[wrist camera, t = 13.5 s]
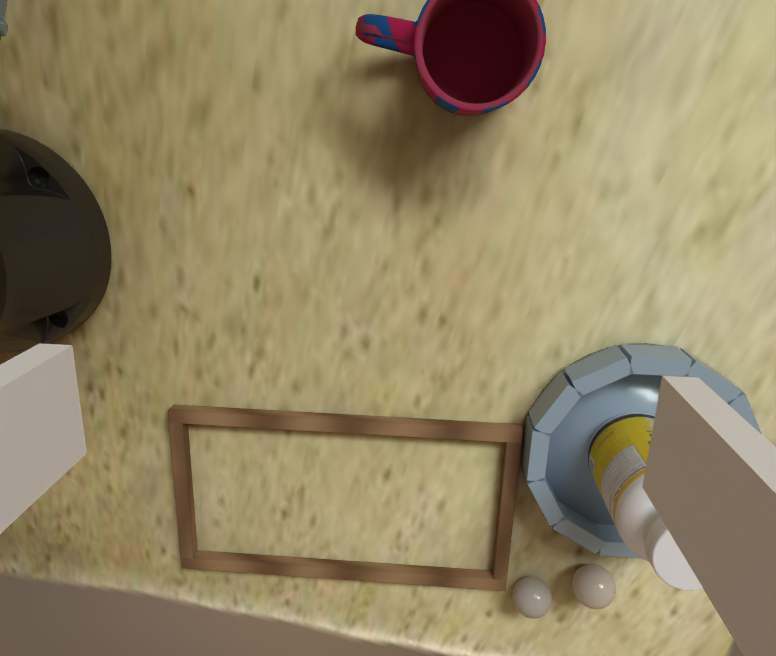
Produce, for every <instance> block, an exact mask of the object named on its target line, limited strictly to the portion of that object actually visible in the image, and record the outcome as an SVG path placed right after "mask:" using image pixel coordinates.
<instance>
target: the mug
mask: <svg viewBox="0 0 776 656" xmlns="http://www.w3.org/2000/svg"><path fill="white" fill-rule="evenodd" d="M356 36H357V37H358V38H359V39H360V40H361V41H363V42H365V43H367V44H370V45H373V46H377V47H381V48H385V49H389V50H393V51H397V52H400V53H404V54H408V55H412V56H414V57H415V61H416V66H417V71H418V75H419V79H420V81H421V84H422V86H423V88H424V90H425V91H426V93H427V94H428V96H429V97H430V98H431V99H432V100H433V101H434V102H435V103H436V104H437V105H439V106H440V107H441V108H443V109H445V110H447V111H449V112H451V113H455V114H458V115H466V116H471V115H479V114H483V113H486V112H489V111H492V110H495V109H498V108H500V107H502V106H504V105H506V104H508V103H510V102H511V101H513V100H514V99H516V98H517V97H518V96H520V95H521V94H522V93H523V92H524V91H525V90H526V89H527V87H528V86H529V85H530V83H531V82H532V81H533V79H534V78H535V76H536V74H537V72H538V70H539V68H540V66H541V62H542V59H543V56H544V51H545V45H546V28H545V22H544V17H543V14H542V11H541V9H540V6H539V4H538V2H537V0H427V2H426V3H425V5H424V6H423V8H422V11H421V13H420V15H419V18H418V20H417V21H416V22H413V21H408V20H404V19H399V18H393V17H388V16H382V15H373V14H366V15H363V16H361V17H359V18H358V21H357V25H356Z"/></svg>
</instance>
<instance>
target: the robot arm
mask: <svg viewBox="0 0 776 656" xmlns="http://www.w3.org/2000/svg"><path fill="white" fill-rule="evenodd" d="M7 1H8V0H0V40H1V36H5V37H6V34H7V30H8V25H7V23H6V21H5V13H6V7H7ZM110 269H111V245H110V238H109V233H108V229H107V225H106V222H105V219H104V216H103V214H102V211H101V209H100V207H99V204H98V203H97V201H96V199H95V197H94V195H93V194H92V192H91V190H90V189H89V187H88V186H87V184H86V183H85V182H84V180H83V179H82V178H81V177H80V175H79V174H78V173H77V172H76V171H75V170H74V169H73V168H72V167H71V166H70V165H69V164H68V163H67V162H66V161H65V160H64V159H63V158H61V157H60V156H59V155H58V154H56V153H55V152H54V151H52V150H51V149H49V148H48V147H46V146H45V145H43V144H41V143H39V142H38V141H36V140H34V139H31V138H29V137H27V136H24V135H22V134H19V133H16V132H12V131H8V130H4V129H0V353H1V352H17V351H25V350H27V351H25V352H23V353H21V354H19V355H17V356H15V357H14V358H12V359H10V360H8V361H6V362H4V363H2V364H1V365H0V534H1V533H2V532H3V531H4V530H5V529H6V528H7V527H8V526H9V525H10V524H11V523H12V522H14V521H15V520H16V519H17V518H18V517H19V516H20V515H21V514H22V513H23V512H24V511H25V510H26V509H27V508H29V507H30V506H31V505H32V504H33V503H34V502H35V501H36V500H37V499H38V498H39V497H40V496H41V495H42V494H44V493H45V492H46V491H47V490H48V489H49V488H50V487H51V486H52V485H53V484H54V483H55V482H56V481H58V480H59V479H60V478H61V477H62V476H63V475H64V474H65V473H66V472H67V471H68V470H69V469H70V468H71V467H73V466H74V465H75V464H76V463H77V462H78V461H79V460H80V459H81V458H82V457H83V456H84V455H85V454H86V453H87V452H86V444H85V437H84V429H83V422H82V414H81V407H80V399H79V392H78V384H77V377H76V370H75V362H74V355H73V347H72V345H59V344H48V343H50V342H52V341H54V340H56V339H58V338H60V337H62V336H64V335H65V334H67V333H69V332H71V331H72V330H74V329H76V328H77V327H78V326H80V325H81V324H82V323H83V322H84V321H86V320H87V319H88V318H89V316H90V315H91V314H92V313H93V312H94V310H95V309H96V308H97V306H98V304H99V303H100V301H101V299H102V297H103V295H104V292H105V290H106V287H107V284H108V280H109V275H110ZM642 488H643V489H644V491H645V493H646V494H647V496H648V498H649V499H650V501H651V503H652V504H653V506H654V508H655V509H656V511H657V513H658V514H659V516H660V518H661V519H662V521H663V522H664V524H665V526H666V527H667V529H668V531H669V532H670V534H671V536H672V537H673V539H674V541H675V542H676V544H677V546H678V547H679V549H680V551H681V552H682V554H683V556H684V557H685V559H686V561H687V562H688V564H689V566H690V567H691V569H692V571H693V572H694V574H695V576H696V577H697V579H698V581H699V582H700V584H701V586H702V587H703V589H704V591H705V592H706V594H707V595H708V597H709V599H710V600H711V602H712V604H713V605H714V607H715V609H716V610H717V612H718V614H719V615H720V617H721V619H722V620H723V622H724V624H725V625H726V627H727V629H728V630H729V632H730V634H731V635H732V637H733V639H734V640H735V642H736V644H737V645H738V647H739V649H740V650H741V652H742V653H743V655H744V656H776V447H775V446H774V445H773V444H771V443H770V442H769V441H768V440H767V439H766V438H765V437H764V436H763V435H761V434H760V433H759V432H758V431H757V430H756V429H755V428H754V427H753V426H752V425H750V424H749V423H748V422H747V421H746V420H745V419H744V418H743V417H742V416H740V415H739V414H738V413H737V412H736V411H735V410H734V409H733V408H732V407H731V406H729V405H728V404H727V403H726V402H725V401H724V400H723V399H722V398H721V397H719V396H718V395H717V394H716V393H715V392H714V391H713V390H712V389H711V388H710V387H708V386H707V385H706V384H705V383H704V382H703V381H702V380H701V379H700V378H697V377H677V376H662V380H661V386H660V391H659V397H658V402H657V408H656V413H655V419H654V424H653V430H652V436H651V441H650V447H649V452H648V458H647V463H646V469H645V474H644V480H643V485H642Z"/></svg>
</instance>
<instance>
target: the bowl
mask: <svg viewBox="0 0 776 656" xmlns="http://www.w3.org/2000/svg"><path fill="white" fill-rule="evenodd" d="M662 376H677V377H697V378H700V379H701V380H702V381H703V382H704V383H705V384H706V385H707V386H708V387H710V388H711V389H712V390H713V391H714V392H715V393H716V394H717V395H718V396H719V397H721V398H722V399H723V400H724V401H725V402H726V403H727V404H728V405H729V406H731V407H732V408H733V409H734V410H735V411H736V412H737V413H738V414H739V415H740V416H742V417H743V418H744V419H745V420H746V421H747V422H748V423H749V424H750V425H752V426H753V427H754V428H755V429H756V430H757V431H758V432H759V433H760V434H761V431H760V429H759V426H758V424H757V421H756V419H755V417H754V414H753V412H752V409H751V407H750V404H749V402H748V399H747V397H746V394H745V393H743V392H742V390H741V389H740V388H739V387H737V386H736V385H735V384H734V383H733V382H731V381H730V380H729V379H728V378H726V377H725V376H724V375H722V374H721V373H719V372H717V371H716V370H714V369H713V368H711V367H710V366H708V365H707V364H705V363H704V362H702V361H701V360H699V359H698V358H696V357H694V356H693V355H691V354H690V353H688V352H687V351H685V350H683V349H682V348H681V349H679V348H678V347H672V346H663V345H656V344H647V343H644V344H620V345H618V346H616V345H614V346H612V347H609V348H605V349H602V350H599V351H597V352H594V353H591V354H589V355H587V356H585V357H583V358H581V359H579V360H577V361H575V362H574V363H572V364H571V365H569V366H568V367H566V368H564V370H562V371H560V372H559V374H558V375H557V376H556V377H554V378H553V379H552V380H551V381H550V383H549V384H548V385H547V386H546V387H545V388H544V389H543V391H542V392H541V394H540V395H539V397H538V398H537V400H536V401H535V403H534V405H533V407H532V408H531V410H530V411H529V416H527V421H526V427H525V432H524V440H523V457H522V465H523V469H524V473H525V476H526V480H527V484H528V486H529V488H530V490H531V491H532V493H533V495H534V497H535V499H536V501H537V503H538V505H539V507H540V508H541V510H542V512H543V514H544V516H545V518H546V520H547V522H548V524H549V525H550V526H551V525H552V528H553V529H554V530H555V531H557V532H559V533H560V534H562V535H564V536H565V537H567V538H569V539H571V540H572V541H574V542H576V543H577V544H579V545H581V546H582V547H584V548H586V549H587V550H589V551H591V552H593V553H594V554H596V553H597V552H598V553H599V555H600V556H615V557H630V558H641V557H639V556H638V555H636V554H635V553H634V552H632V551H631V550H630V549H629V548H628V547H627V545H626V544H625V543H624V541H623V540H622V538H621V536H620V535H619V533H618V530H617V528H616V526H615V524H614V522H613V520H612V517H611V515H610V513H609V511H608V509H607V506H606V504H605V502H604V500H603V497H602V495H601V493H600V491H599V489H598V486H597V484H596V482H595V480H594V478H593V476H592V474H591V471H590V469H589V465H588V460H587V451H588V446H589V443H590V440H591V438H592V436H593V435H594V433H595V432H596V431H597V429H598V428H599V427H600V426H601V425H603V424H604V423H605V422H606V421H608V420H610V419H611V418H614V417H616V416H618V415H622V414H626V413H633V412H639V413H647V414H650V415H654V416H655V413H656V408H657V402H658V397H659V391H660V386H661V380H662ZM761 435H762V434H761Z"/></svg>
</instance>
